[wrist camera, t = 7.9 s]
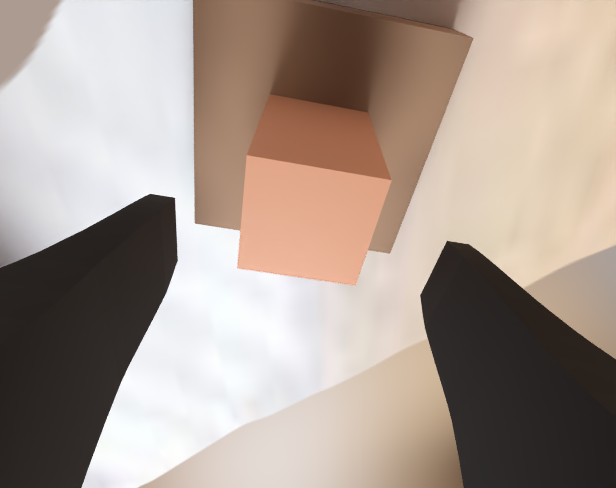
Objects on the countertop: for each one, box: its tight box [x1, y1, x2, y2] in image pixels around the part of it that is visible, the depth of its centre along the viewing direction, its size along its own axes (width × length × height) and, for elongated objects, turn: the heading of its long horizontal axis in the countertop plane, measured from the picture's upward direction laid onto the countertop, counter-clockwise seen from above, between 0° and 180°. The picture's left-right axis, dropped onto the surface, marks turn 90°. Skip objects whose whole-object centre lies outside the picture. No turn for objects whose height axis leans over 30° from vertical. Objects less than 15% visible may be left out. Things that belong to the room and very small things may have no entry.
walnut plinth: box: [193, 0, 473, 253], centre depth 17 cm, size 10×10×2 cm
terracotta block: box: [237, 94, 392, 286], centre depth 14 cm, size 4×4×6 cm
